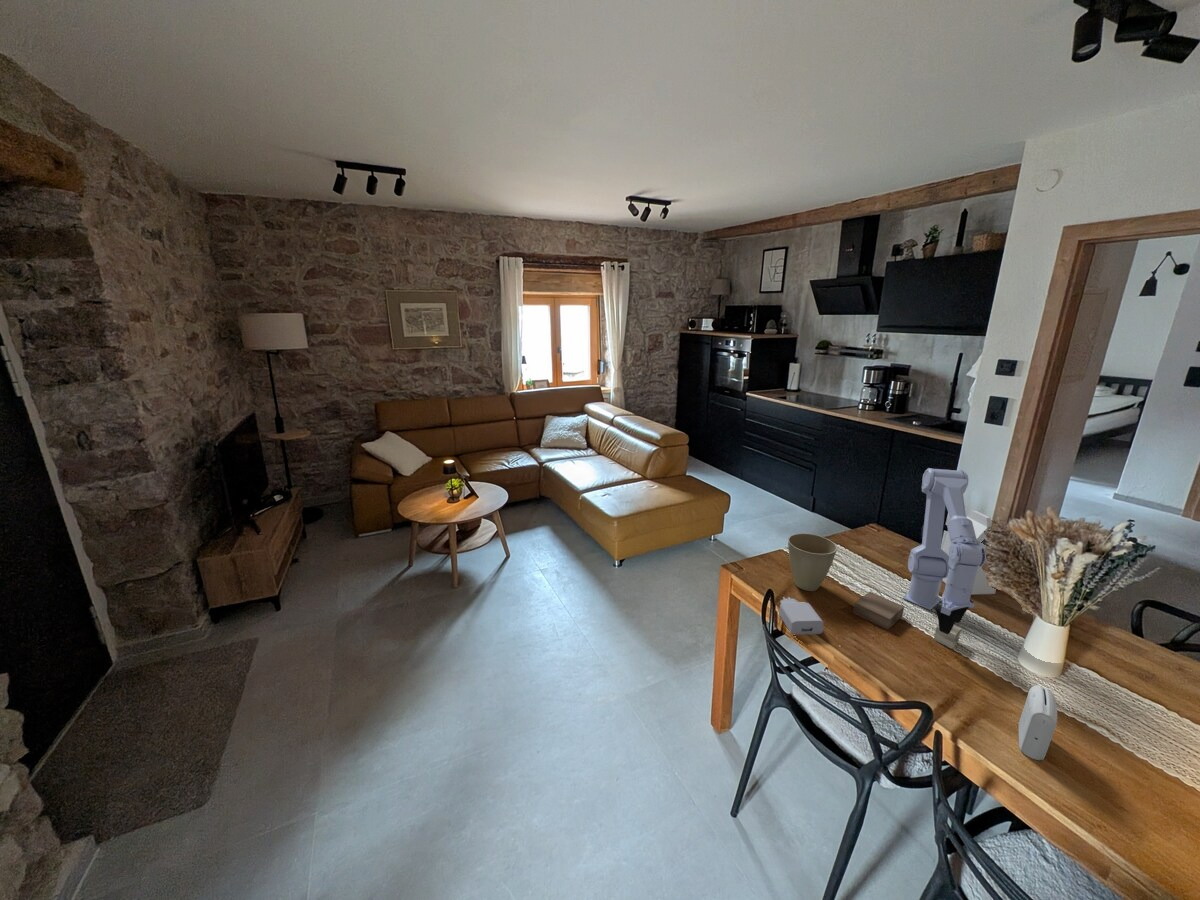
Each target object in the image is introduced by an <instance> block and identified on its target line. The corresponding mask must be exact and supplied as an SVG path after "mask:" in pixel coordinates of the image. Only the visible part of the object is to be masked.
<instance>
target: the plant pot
mask: <svg viewBox="0 0 1200 900" xmlns="http://www.w3.org/2000/svg"><path fill="white" fill-rule="evenodd" d="M787 544H788V547H787V548H788V557H789V565H790V568H791V573H792V578H793V582H794V585H796V587H797V588H799V589H801V590H804V591H807V592H808V591H809V592H815V591H817V590H818V589H820V586H821V585H822V584H823V582H824V580H825V579H826V577H827V575H828V573H829V572H830V569H831V566H832V564H833V562H834V560H835V557H836V553H837V551H838V546H837V545H836V543H835V542H834V541H832V540H830V539H828V538H826V537H824V536H822V535H818V534H814V533H806V532H805V533H801V532H800V533H795V534H792V535H790V536H789V537H788V539H787Z"/></svg>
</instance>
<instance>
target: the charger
mask: <svg viewBox="0 0 1200 900" xmlns="http://www.w3.org/2000/svg"><path fill="white" fill-rule="evenodd" d="M782 598H783V599H781V600H780V601H779V603H780V604H779V610H778V611H779V612H778V615H779V617H780V618H781V620H782V622H783V623H784V624H785V627H786V628H787V629H788V631H789V633H790V634H791V635H820V634H822V633H823V630H824V624H825V622H824V621H823V619H822V618H821V616H819V615H818V612H817V611H815V609H814V608H813V606H812V605H811V604H810V603H809V602H805V601H798V600H797V599H795V598H791V597H790V596H787V598H785V596H783V597H782Z"/></svg>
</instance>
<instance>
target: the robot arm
mask: <svg viewBox="0 0 1200 900" xmlns="http://www.w3.org/2000/svg"><path fill="white" fill-rule="evenodd" d="M921 479H922V481H921V482H922V483H921V492H922V493H924V494H925V495H926V500H925V501H926V502H925V513H924V519H923V520H924V522H923V530H922V538H921V539H922V541H921V544H920V545H918V546H916V547H913V548H911V549H910V553H909V557H908V559H907V568H908V569H907V570H908V571H909V572H910V573H911V574H912V575H911V578H910V579H911V580H910V584H909V588H908V592H907V593H906V594H905V595H903V596H902V599H903V600H905V601H908V602H910V603H912V604H915V605H916V606H920V607H922V608H924V609H926V610H929V611H931V610H933V608H934V611H935V614H936V616H937V619H938V625H939V630H940V631H941V632H943V633H945V634H949V633H950V632H951V630H952V628H953V626H955V624H960V622H961V621H962V619H963V618H964V615H965V614H966V612H967V610H968V609H974V607H975V602H974V601H973V600H971V596H972V594H971V593H972V589H973V585H974V581H975V577H976V573H977V569H978V567H977V566H983V565H984V563H985V559H986V553H985V549H984V547H983V545H981V543H980V541H977V539H976V535H975V531H974V527H973V523H972V521H971V520H970V519H968V518H966V517H967V514H966V506H965V499H964V494H965V492H966V490H967V488H968V486H969V476H968V473H967V472H966V471H965V470H954V469H953V470H951V469H940V468H932V467H931V468H930V467H928V468H927V469H926V470H924V473H923V474H922V478H921ZM945 511H947V512H948V516H949V520H948V521H947V522H946V527H947V532H949V537H950V541H951V546H950V547H949V556H948V554H947V553H946V552H944V551H943V550H942V541H943V540H942V539H943V530H944V523H945ZM983 553H984V554H983ZM980 557H981V558H980ZM947 576H948V577H947ZM946 577H947V581H946V583H945V586H944V591H943V593H942V596H941V597H940V596H939V595H940V592H941V586H942V582H943V581H942V580H943V578H946ZM940 602H942V605H939V603H940Z"/></svg>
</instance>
